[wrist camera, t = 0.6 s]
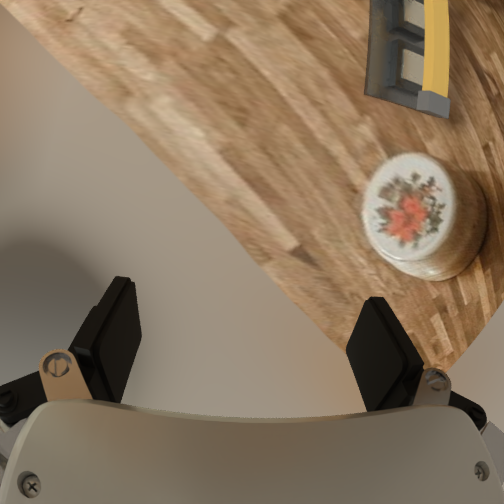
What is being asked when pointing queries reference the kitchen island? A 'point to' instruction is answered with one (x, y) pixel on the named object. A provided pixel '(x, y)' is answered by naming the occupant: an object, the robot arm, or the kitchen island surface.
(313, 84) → the kitchen island surface
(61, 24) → the kitchen island surface
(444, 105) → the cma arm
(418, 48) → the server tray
